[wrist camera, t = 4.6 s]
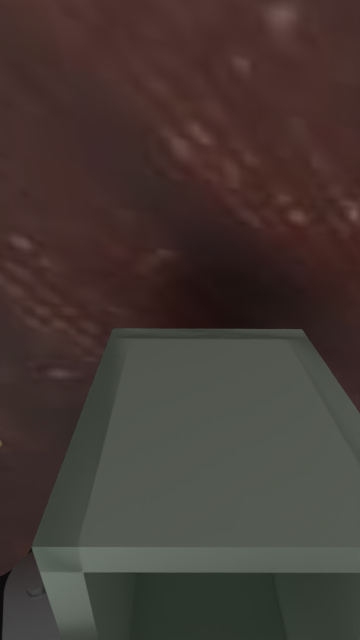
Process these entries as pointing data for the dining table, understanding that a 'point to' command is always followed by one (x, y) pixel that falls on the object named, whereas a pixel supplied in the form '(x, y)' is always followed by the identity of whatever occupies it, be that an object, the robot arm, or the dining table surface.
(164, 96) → the dining table surface
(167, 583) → the box
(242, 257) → the dining table surface
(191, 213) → the dining table surface
